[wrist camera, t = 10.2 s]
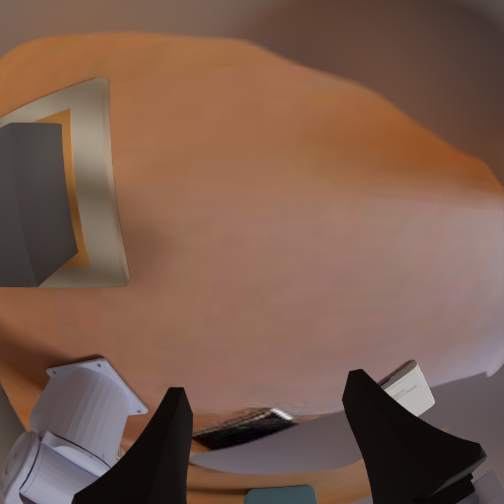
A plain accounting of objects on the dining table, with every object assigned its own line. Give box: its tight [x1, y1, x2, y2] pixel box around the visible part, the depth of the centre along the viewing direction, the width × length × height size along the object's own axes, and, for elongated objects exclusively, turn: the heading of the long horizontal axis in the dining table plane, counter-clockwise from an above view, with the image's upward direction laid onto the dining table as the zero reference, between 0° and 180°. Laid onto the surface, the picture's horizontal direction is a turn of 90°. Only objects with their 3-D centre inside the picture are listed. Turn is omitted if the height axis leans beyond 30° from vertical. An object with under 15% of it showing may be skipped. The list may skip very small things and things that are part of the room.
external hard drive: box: [380, 360, 435, 416], centre depth 27 cm, size 2×8×12 cm
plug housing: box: [0, 122, 78, 287], centre depth 12 cm, size 9×4×5 cm, turn 2°
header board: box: [0, 77, 130, 288], centre depth 14 cm, size 14×10×4 cm
